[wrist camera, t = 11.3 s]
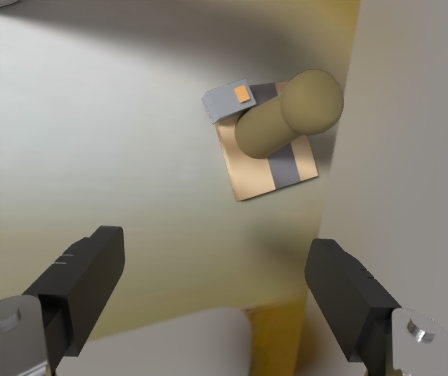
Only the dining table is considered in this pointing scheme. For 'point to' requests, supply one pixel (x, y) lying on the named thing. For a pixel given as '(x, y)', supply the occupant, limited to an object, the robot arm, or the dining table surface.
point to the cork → (291, 114)
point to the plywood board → (270, 166)
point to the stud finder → (228, 101)
